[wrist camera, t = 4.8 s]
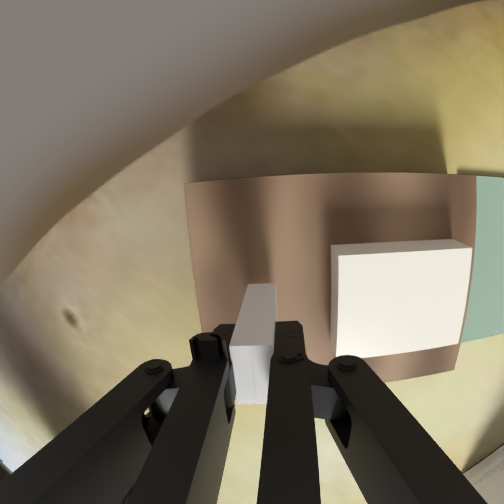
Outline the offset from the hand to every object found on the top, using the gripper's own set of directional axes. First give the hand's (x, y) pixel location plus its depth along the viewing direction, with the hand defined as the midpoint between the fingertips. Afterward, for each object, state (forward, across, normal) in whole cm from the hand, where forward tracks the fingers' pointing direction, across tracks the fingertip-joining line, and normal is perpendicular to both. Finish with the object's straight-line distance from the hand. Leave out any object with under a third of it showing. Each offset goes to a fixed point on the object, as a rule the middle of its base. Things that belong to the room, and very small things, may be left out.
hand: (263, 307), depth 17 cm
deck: (+6, +5, 0) cm, 7 cm away
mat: (+6, +21, 0) cm, 22 cm away
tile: (+2, +8, 0) cm, 8 cm away
